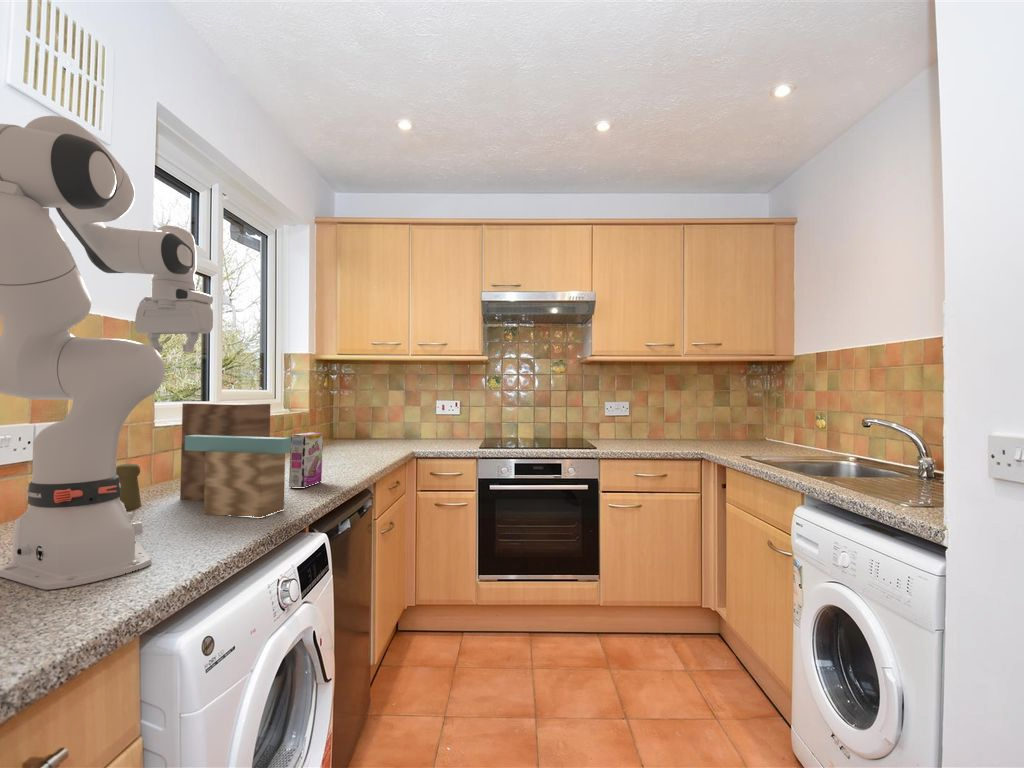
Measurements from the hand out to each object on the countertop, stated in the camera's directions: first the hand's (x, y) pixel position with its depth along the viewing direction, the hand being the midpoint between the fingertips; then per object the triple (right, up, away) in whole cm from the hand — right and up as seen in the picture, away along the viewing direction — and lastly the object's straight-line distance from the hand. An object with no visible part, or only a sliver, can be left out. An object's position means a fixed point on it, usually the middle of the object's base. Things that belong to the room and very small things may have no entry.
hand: (172, 352), depth 120 cm
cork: (-14, -39, +3) cm, 41 cm away
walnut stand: (+3, -39, +17) cm, 43 cm away
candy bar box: (+18, -40, +35) cm, 56 cm away
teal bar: (+16, -24, +1) cm, 29 cm away
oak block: (+17, -39, +1) cm, 43 cm away
